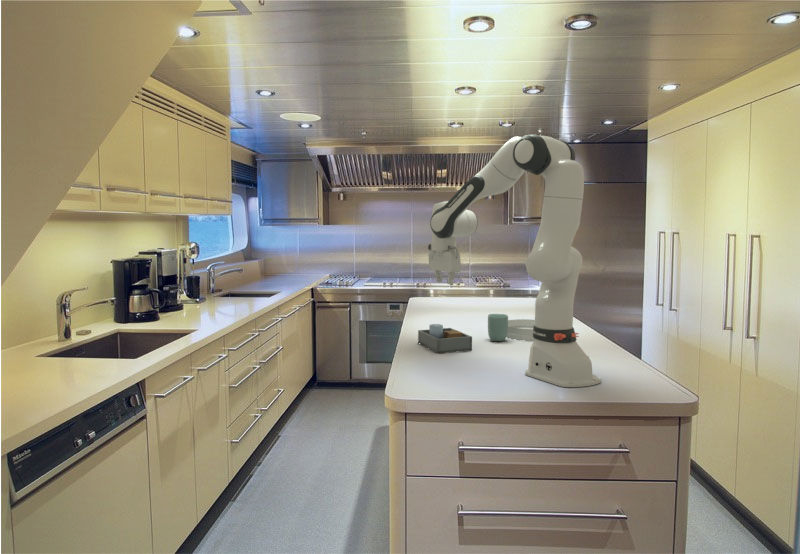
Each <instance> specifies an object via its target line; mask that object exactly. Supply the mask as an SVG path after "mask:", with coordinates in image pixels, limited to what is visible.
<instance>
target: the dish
mask: <svg viewBox="0 0 800 554" xmlns="http://www.w3.org/2000/svg"><path fill="white" fill-rule="evenodd" d="M534 325H535V319H524V318H523V319H522V318H521V319H510V320H509V319H508V333H507V338H506V339H509V338H511V339H510V340H513V339H516V341H520V340H525V341H524V342H534V337H533V326H534Z"/></svg>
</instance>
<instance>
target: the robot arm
mask: <svg viewBox="0 0 800 554" xmlns="http://www.w3.org/2000/svg"><path fill="white" fill-rule="evenodd" d="M525 172H527V173H531V174H533V175H535V176H540V175H541V177H543V179H544V183H545V186H544V194H543V202H542V209H541V211H542V212H541V217H540V224H539V228H538V231H537V234H536V237H535V240H534V244H533V246H532V249H531V251H530V253H529V254H528V256H527V257H526V260H525V269H526V272H527V274H528V275H529V277H531V278H532V280H535V281H537V282H540V283H541V284H540V287H539V291H538V294H537V296H536V299H535V303H534V320H535V325H534V326H533V337H534V341H532V345H531V346H530V350H529V356H528V357H529V358H528V367H527V369H526V370H525V371H524V375H525V376H528V377H530V378H535V379H537V380H541V381H544V382H546V383H549V384H553V385H556V386H557V387H558V386H559V387H562V388H579V387H589V386H594V385H595V386H596V385H598V384H601V382H602V379H601V378H600V377H599V376H597V375H595V374H593V364H592V363H593V362H592V360H591V359H590V356H589V355H587V354H586V353H585V351H584V349H583V348H581V346H580V345H579V344H578V342H577V338H578V337H579V332H575V328H574V327H573V326H574V325H573V324H574V304H575V303H574V302H575V295H576V290H577V286H578V282H579V276H580V271H581V270H582V267H583V262H584V261H583V256H582V254H581V252H580V251H579V250H578V249H577V248H576V247H574V246H572V245H573V242H574V239H575V236H576V233H577V232H578V230H579V228H580V225H581V215H582V211H583V201H584V191H585V189H584V188H585V182H584V181H585V178H584V177H585V175H584V168H583V166H582V164H580V163H579V162H578V161H576V153H575V150H574V148H573V146H572V145H570V144H569V143H568V142H567V141H563V140H559V139H556V138H554V137H552V136H547V135H540V134H539V135H538V134H527V135H526V134H525V135H524V136H513V137H511V138H510V139H509V140H507V141H506V142H505V143H504V144H503V145H502V146H501V147H500V148H499V149H498V150H497V151H496V153H495V154H494V155H493V156H492V158H491V159H490V160H489V161H488V162H487V163H486V164H485V165H484V167H483V168H482V169H480V170H479V171H478V172H477V173H476V174H475V175H474V176H472V177H471V178H469V179H468V180H467V182H465V183H464V184H463V185H462V186H461V187H459V189H458V191H456V193H455V194H454V195H453V196H451V198H450V199H449V200H443V201H438V202H437V203H435V204H433V207H432V212H431V217H430V229H431V231H432V236H431V240H432V241H430V242H429V244H427V251H429V252H428V255H427V256H428V266H429V269H430V270H432V271H434V275H435V277H436V278H435V279H436V281H435V282H437V283H442V282H443V277H442V275H441V273H442V272H445V273H446V272H447V275H448V277H447V285H454V279H455V276H456V273H460V272H461V269H462V263H461V254H460V252H459V251H458V249H457V238H460V237H461V238H462V237H470V236H472V235H474V234H475V232H476V231H477V229H478V225H479V221H478V218H477V217H478V216H477V215H476V214H475V212H474V211H472V210H469V209H468V208H469V207H470V206H471V205H473V204H474V203H475V202H476V201H479V200H480V199H484V198H487V197H491V196H495V195H501V194H504V193H506V192H507V191H509V190H510V189H511V188H512V187H513V186H514V185H515V184H516V183H517V182H518V181H519V179H520V178H521V177H522V176H523V174H524V173H525Z"/></svg>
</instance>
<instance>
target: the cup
mask: <svg viewBox="0 0 800 554" xmlns="http://www.w3.org/2000/svg"><path fill="white" fill-rule="evenodd" d="M508 320H509V315H508V314H504V313H489V314H488V316H487V335H488V338H489V340H491V341H492V342H497V341H500V342H504V341H505V340H506V339H507V338H506V337H507V333H508Z"/></svg>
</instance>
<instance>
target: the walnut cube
mask: <svg viewBox="0 0 800 554" xmlns="http://www.w3.org/2000/svg"><path fill="white" fill-rule="evenodd" d="M462 333H463V332H461V331H459V330H457V329H454V330H451V331H444V338H456V337H462Z"/></svg>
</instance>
